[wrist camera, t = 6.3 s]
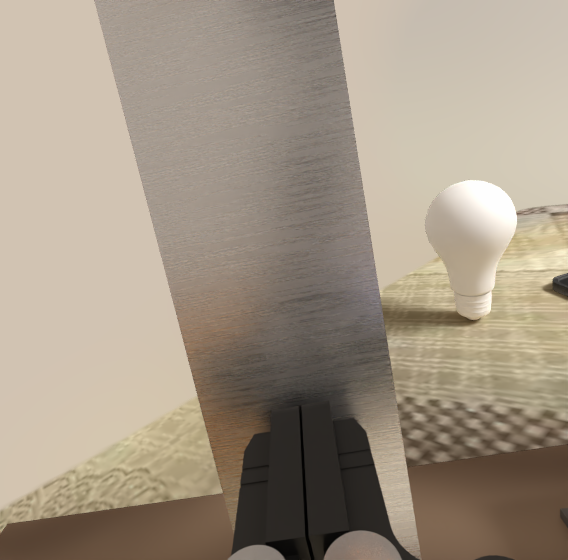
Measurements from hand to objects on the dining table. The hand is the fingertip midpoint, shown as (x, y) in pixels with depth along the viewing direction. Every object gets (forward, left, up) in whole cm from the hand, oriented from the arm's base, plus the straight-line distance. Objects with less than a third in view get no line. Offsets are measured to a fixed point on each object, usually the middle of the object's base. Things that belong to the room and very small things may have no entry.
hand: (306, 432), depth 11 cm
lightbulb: (-25, -2, -10) cm, 27 cm away
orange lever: (0, 0, -7) cm, 7 cm away
